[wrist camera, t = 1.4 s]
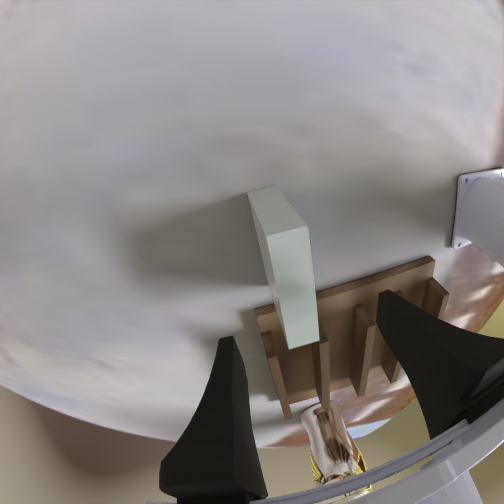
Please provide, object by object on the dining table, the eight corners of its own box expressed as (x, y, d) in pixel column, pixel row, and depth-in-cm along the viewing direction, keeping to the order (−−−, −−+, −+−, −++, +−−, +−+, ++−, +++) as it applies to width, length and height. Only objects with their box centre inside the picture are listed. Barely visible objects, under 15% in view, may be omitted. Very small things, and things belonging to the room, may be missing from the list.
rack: (429, 255, 24) (453, 276, 21) (407, 355, 32) (421, 375, 29) (254, 309, 24) (262, 342, 20) (280, 399, 32) (287, 426, 28)
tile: (275, 185, 19) (307, 225, 13) (292, 279, 23) (319, 340, 17) (246, 192, 19) (265, 236, 13) (268, 285, 23) (288, 349, 17)
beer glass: (308, 400, 33) (338, 500, 20) (351, 397, 34) (386, 485, 21) (290, 424, 36) (312, 511, 23) (330, 420, 38) (356, 500, 25)
